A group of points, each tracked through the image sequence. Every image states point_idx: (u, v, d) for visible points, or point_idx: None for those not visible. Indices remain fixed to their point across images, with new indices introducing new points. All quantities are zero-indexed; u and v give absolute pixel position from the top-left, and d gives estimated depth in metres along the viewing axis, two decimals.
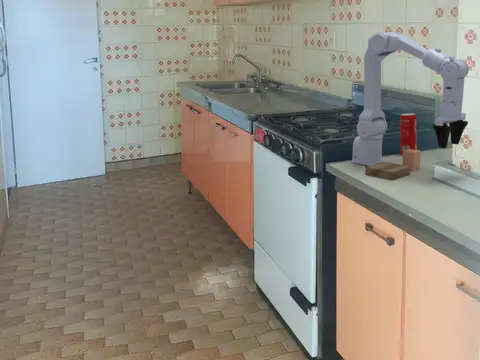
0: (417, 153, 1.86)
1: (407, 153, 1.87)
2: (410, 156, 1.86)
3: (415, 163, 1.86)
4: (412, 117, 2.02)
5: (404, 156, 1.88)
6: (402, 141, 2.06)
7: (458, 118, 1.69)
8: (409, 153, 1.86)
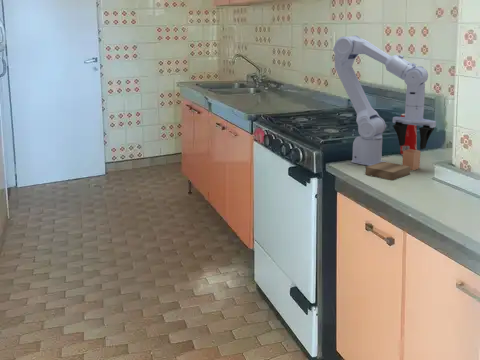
0: (417, 153, 1.86)
1: (407, 153, 1.87)
2: (410, 156, 1.86)
3: (415, 163, 1.86)
4: None
5: (404, 156, 1.88)
6: None
7: None
8: (409, 153, 1.86)
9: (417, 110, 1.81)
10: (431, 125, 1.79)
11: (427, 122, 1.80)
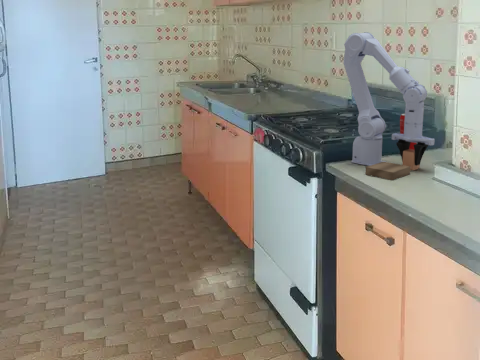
0: None
1: (407, 153, 1.87)
2: (410, 156, 1.86)
3: None
4: None
5: (404, 156, 1.88)
6: None
7: None
8: (409, 153, 1.86)
9: (416, 128, 1.83)
10: (430, 143, 1.81)
11: (426, 140, 1.81)
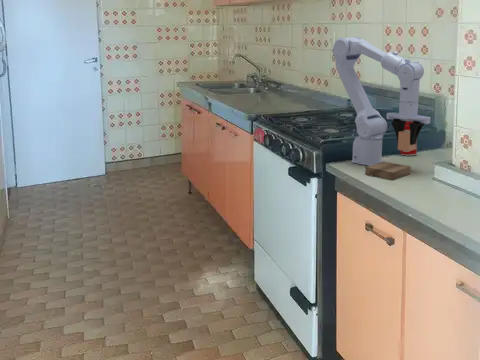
0: None
1: (403, 133, 1.83)
2: (406, 136, 1.83)
3: None
4: None
5: (400, 137, 1.84)
6: None
7: None
8: (405, 133, 1.83)
9: (411, 106, 1.79)
10: (425, 121, 1.77)
11: (421, 118, 1.78)
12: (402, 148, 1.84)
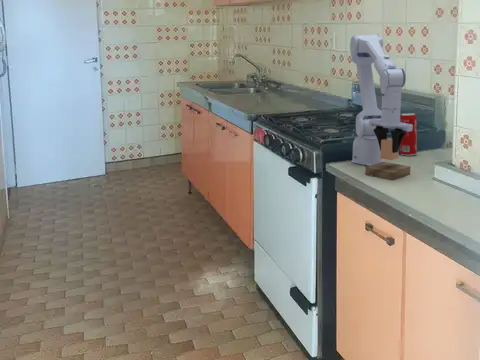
0: None
1: (385, 142, 1.79)
2: (388, 145, 1.78)
3: None
4: (412, 117, 2.02)
5: (382, 145, 1.80)
6: (402, 141, 2.06)
7: None
8: (387, 142, 1.78)
9: (393, 113, 1.74)
10: (407, 129, 1.73)
11: (403, 126, 1.73)
12: (385, 157, 1.80)
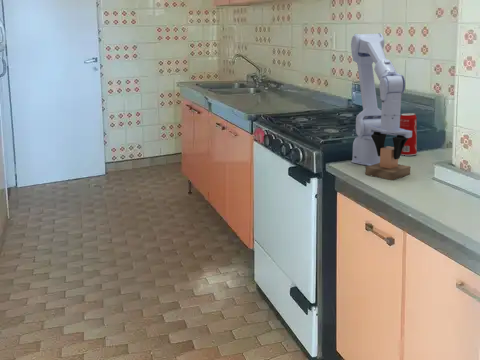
0: None
1: (384, 150, 1.80)
2: (388, 153, 1.79)
3: (392, 161, 1.79)
4: (412, 117, 2.02)
5: (381, 153, 1.81)
6: None
7: (381, 130, 1.77)
8: (386, 150, 1.79)
9: (393, 119, 1.75)
10: (407, 135, 1.73)
11: (403, 132, 1.74)
12: (384, 165, 1.81)
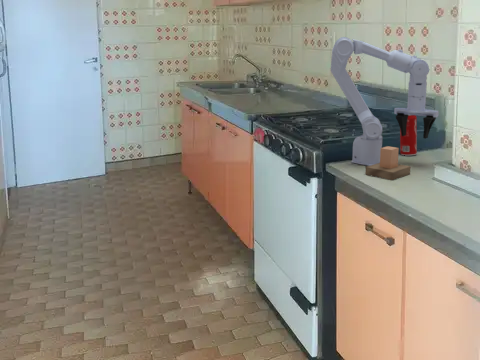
0: (395, 150, 1.79)
1: (384, 150, 1.80)
2: (388, 153, 1.79)
3: (392, 161, 1.79)
4: (412, 117, 2.02)
5: (381, 153, 1.81)
6: (402, 141, 2.06)
7: (409, 111, 1.88)
8: (386, 150, 1.79)
9: (420, 101, 1.86)
10: (435, 115, 1.85)
11: (431, 112, 1.85)
12: (384, 165, 1.81)
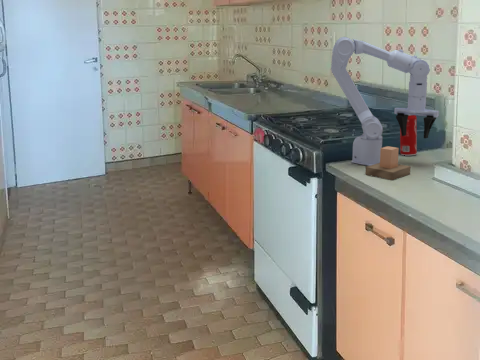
0: (395, 150, 1.79)
1: (384, 150, 1.80)
2: (388, 153, 1.79)
3: (392, 161, 1.79)
4: (412, 117, 2.02)
5: (381, 153, 1.81)
6: (402, 141, 2.06)
7: None
8: (386, 150, 1.79)
9: (421, 101, 1.86)
10: (435, 115, 1.85)
11: (431, 112, 1.86)
12: (384, 165, 1.81)
